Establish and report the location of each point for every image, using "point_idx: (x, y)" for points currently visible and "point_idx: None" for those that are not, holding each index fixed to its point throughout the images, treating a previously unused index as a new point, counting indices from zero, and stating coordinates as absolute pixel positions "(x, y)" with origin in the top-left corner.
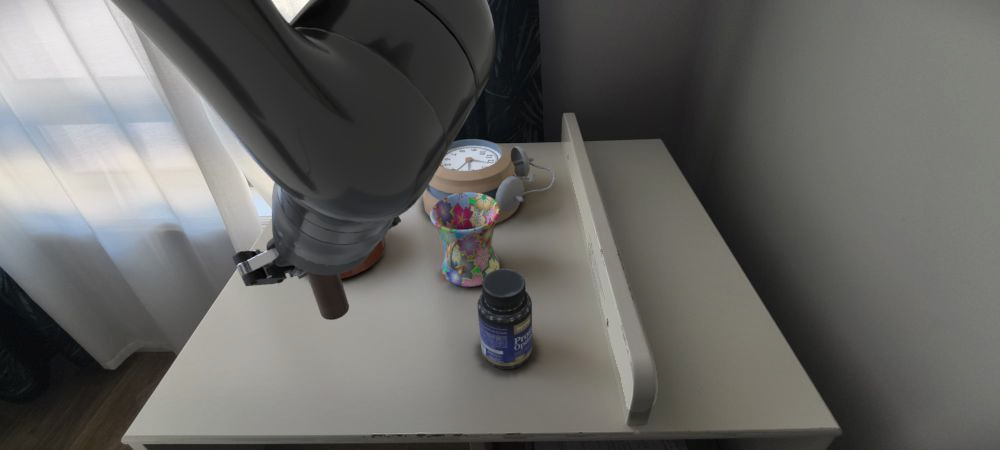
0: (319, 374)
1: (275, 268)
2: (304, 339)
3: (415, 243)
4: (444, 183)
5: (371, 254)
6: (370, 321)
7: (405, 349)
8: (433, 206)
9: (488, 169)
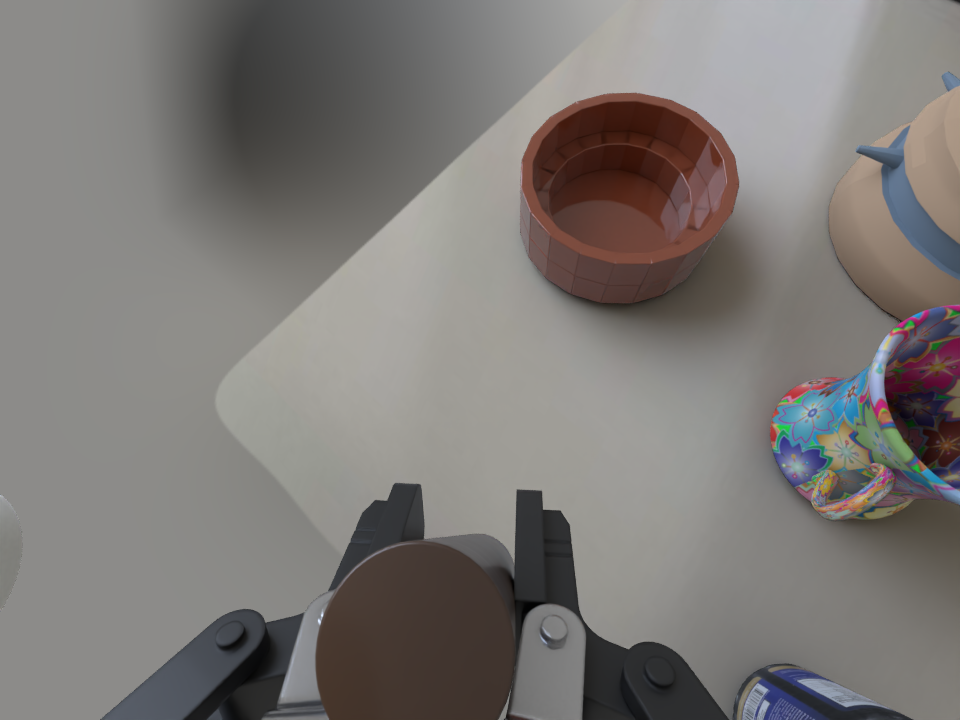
0: (446, 488)
1: (234, 714)
2: (460, 391)
3: (759, 287)
4: (957, 199)
5: (659, 285)
6: (577, 432)
7: (600, 550)
8: (906, 323)
9: None
